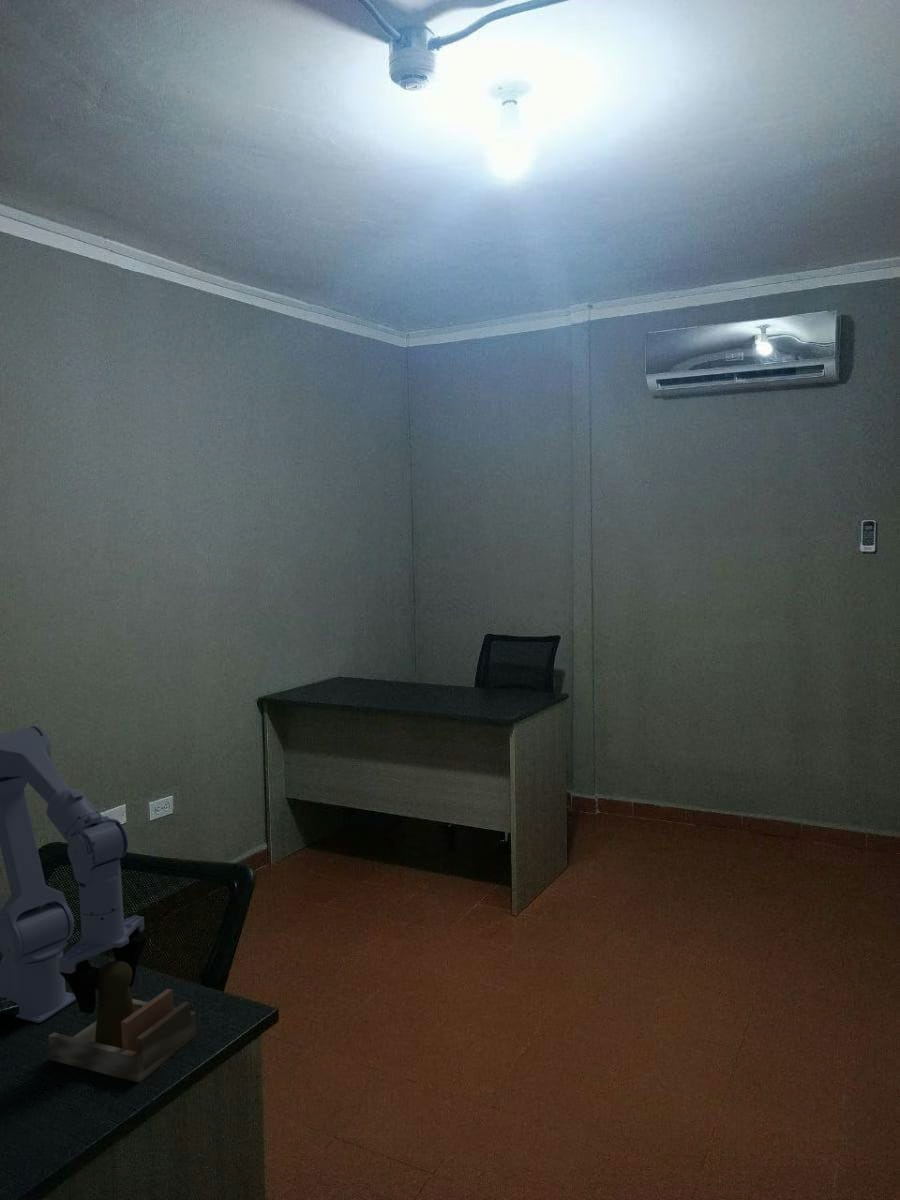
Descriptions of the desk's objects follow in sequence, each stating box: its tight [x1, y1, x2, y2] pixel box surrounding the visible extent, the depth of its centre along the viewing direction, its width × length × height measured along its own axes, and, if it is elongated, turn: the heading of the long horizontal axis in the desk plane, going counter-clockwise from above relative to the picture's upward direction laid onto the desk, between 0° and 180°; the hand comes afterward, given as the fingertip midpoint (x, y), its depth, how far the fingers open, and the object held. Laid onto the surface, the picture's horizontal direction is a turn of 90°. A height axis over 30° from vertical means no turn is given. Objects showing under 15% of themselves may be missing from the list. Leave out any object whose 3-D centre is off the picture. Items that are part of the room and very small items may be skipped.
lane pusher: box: [121, 988, 175, 1052], centre depth 125 cm, size 1×9×6 cm, turn 158°
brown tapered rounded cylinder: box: [95, 960, 135, 1048], centre depth 127 cm, size 6×6×11 cm
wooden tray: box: [48, 998, 198, 1083], centre depth 126 cm, size 16×12×6 cm
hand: (107, 998), depth 127 cm, fingers open, 7 cm apart
